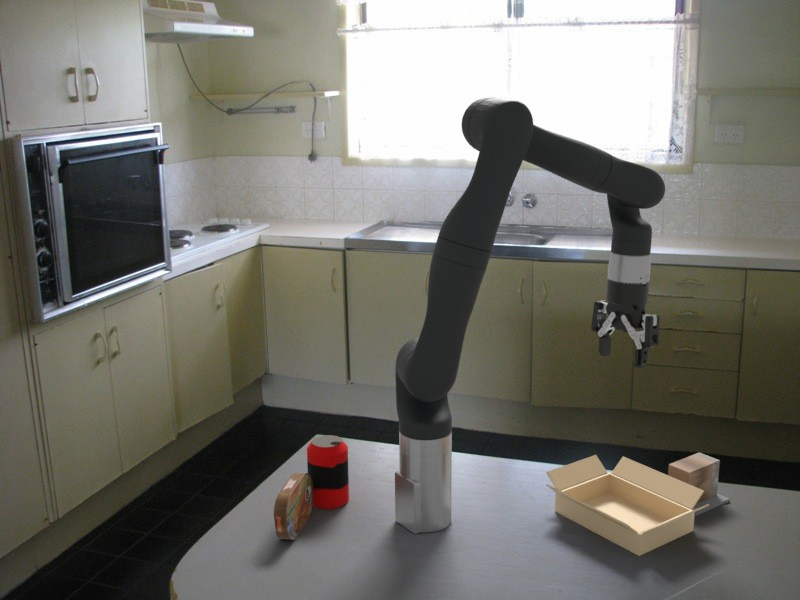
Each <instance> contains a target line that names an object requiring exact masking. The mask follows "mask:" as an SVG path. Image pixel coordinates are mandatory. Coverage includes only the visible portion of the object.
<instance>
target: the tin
mask: <svg viewBox="0 0 800 600" xmlns="http://www.w3.org/2000/svg"><path fill="white" fill-rule="evenodd" d="M313 507H314V506H313V484H312V479H311V476H310V475H309V474H308V472H307V473H293V474H292V475H291V476H290V477H289V479H288V480H287V482H285V484H284V486H283V487H282V488H281V490H280V491H279V493H278V494H277V496H276V499H275V502H274V506H273V518H274V519H273V520H274V528H275V535H276V536H277V538H278V539H281V540H292V541H294V540H296V539H297V538H298V536H299V534H301V531H302V530H303V528H304V526H305V525H306V523H307V522H308V520H309V518H310V517H311V513H312V511H313Z"/></svg>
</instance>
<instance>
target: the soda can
mask: <svg viewBox="0 0 800 600" xmlns="http://www.w3.org/2000/svg"><path fill="white" fill-rule="evenodd" d="M306 461H307V462H306V463H307V473H308V474H309V475H310V476H311V479H312V484H313V506H312V507H314V508H317V509H320V510H334V509H339V508H341V507H343V506H345V505H346V504H347V503H348V502H349V499H350V493H349V492H350V487H349V486H350V485H349V483H350V482H349V480H350V479H349V447H348V445H347V444H346V442H344V440H343V439H342V437H339V436H338V435H332V434H331V435H330V434H328V435H327V434H326V435H320V436H316V437H315V438H313V439H312V440H311V442H310V443H309V444H308V446H307V447H306Z"/></svg>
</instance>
